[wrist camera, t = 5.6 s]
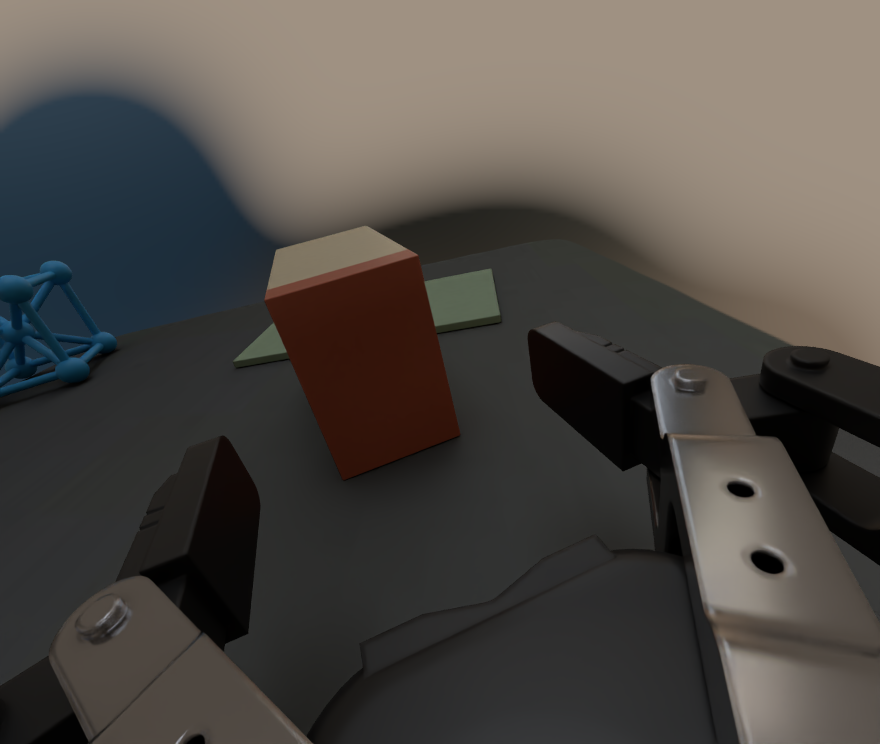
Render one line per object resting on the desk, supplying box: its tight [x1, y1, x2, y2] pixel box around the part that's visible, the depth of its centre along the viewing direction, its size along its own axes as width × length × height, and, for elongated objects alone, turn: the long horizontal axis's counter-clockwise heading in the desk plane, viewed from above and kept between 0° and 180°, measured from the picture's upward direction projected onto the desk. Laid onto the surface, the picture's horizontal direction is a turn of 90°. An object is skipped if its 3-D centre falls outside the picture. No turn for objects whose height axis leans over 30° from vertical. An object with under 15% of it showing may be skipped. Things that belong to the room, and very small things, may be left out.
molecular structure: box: [0, 261, 117, 397], centre depth 38 cm, size 10×10×10 cm
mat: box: [233, 269, 501, 368], centre depth 36 cm, size 21×12×1 cm, turn 87°
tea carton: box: [264, 226, 460, 480], centre depth 22 cm, size 12×6×8 cm, turn 19°
